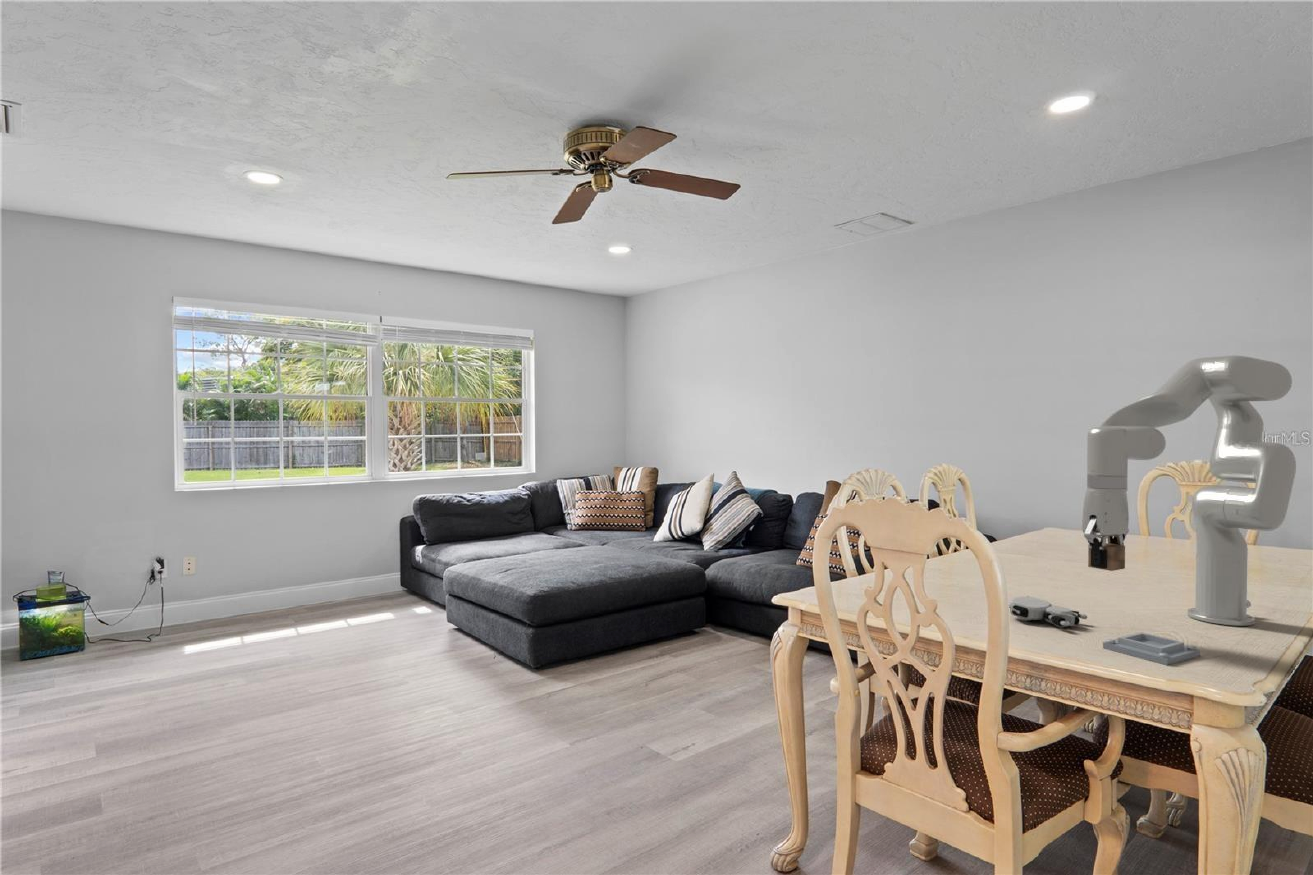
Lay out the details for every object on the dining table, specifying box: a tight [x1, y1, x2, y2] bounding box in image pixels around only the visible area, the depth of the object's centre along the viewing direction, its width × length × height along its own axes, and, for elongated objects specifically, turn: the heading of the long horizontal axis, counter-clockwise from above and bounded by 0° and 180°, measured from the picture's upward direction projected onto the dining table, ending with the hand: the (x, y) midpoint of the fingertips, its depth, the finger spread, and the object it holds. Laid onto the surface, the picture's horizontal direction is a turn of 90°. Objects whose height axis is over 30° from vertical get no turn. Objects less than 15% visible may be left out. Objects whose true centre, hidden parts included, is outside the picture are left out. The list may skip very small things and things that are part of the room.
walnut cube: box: [1087, 542, 1126, 572], centre depth 158 cm, size 5×5×5 cm
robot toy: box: [1008, 595, 1088, 628], centre depth 168 cm, size 12×4×15 cm
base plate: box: [1102, 631, 1201, 666], centre depth 146 cm, size 12×12×2 cm
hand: (1106, 565), depth 158 cm, fingers closed on walnut cube, 5 cm apart
